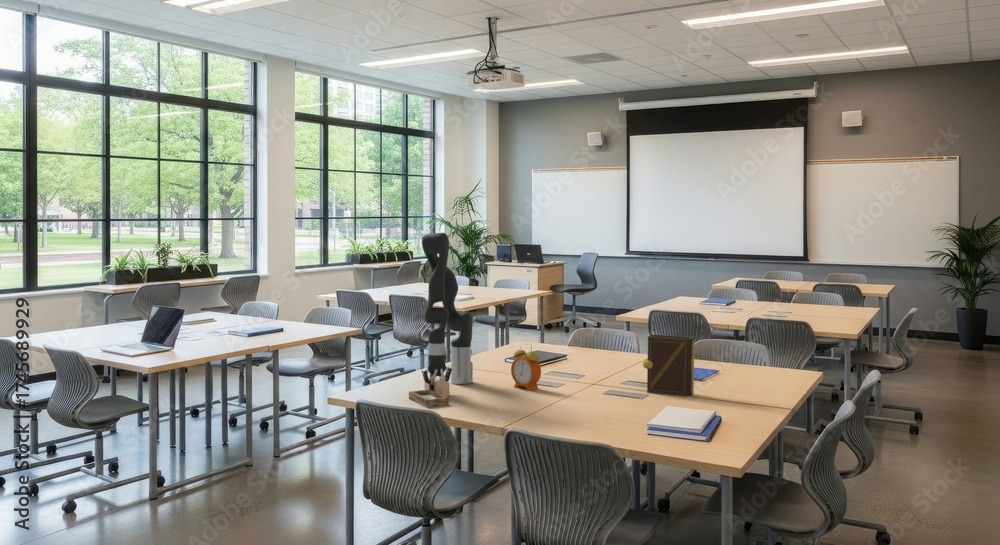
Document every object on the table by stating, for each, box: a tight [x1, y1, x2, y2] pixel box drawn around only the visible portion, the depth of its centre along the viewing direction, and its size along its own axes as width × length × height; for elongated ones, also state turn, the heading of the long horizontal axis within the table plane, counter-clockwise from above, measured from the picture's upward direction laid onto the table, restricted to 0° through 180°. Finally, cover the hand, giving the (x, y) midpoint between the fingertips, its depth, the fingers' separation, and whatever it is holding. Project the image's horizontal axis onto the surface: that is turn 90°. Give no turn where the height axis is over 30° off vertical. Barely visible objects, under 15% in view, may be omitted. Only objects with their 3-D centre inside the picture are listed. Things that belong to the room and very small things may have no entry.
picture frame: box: [408, 389, 450, 409], centre depth 322 cm, size 10×18×3 cm, turn 30°
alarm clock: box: [510, 344, 542, 392], centre depth 347 cm, size 13×6×20 cm, turn 47°
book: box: [642, 334, 695, 397], centre depth 338 cm, size 22×8×25 cm, turn 65°
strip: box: [424, 377, 451, 397], centre depth 336 cm, size 4×14×6 cm, turn 36°
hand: (437, 391), depth 336 cm, fingers closed on strip, 4 cm apart
